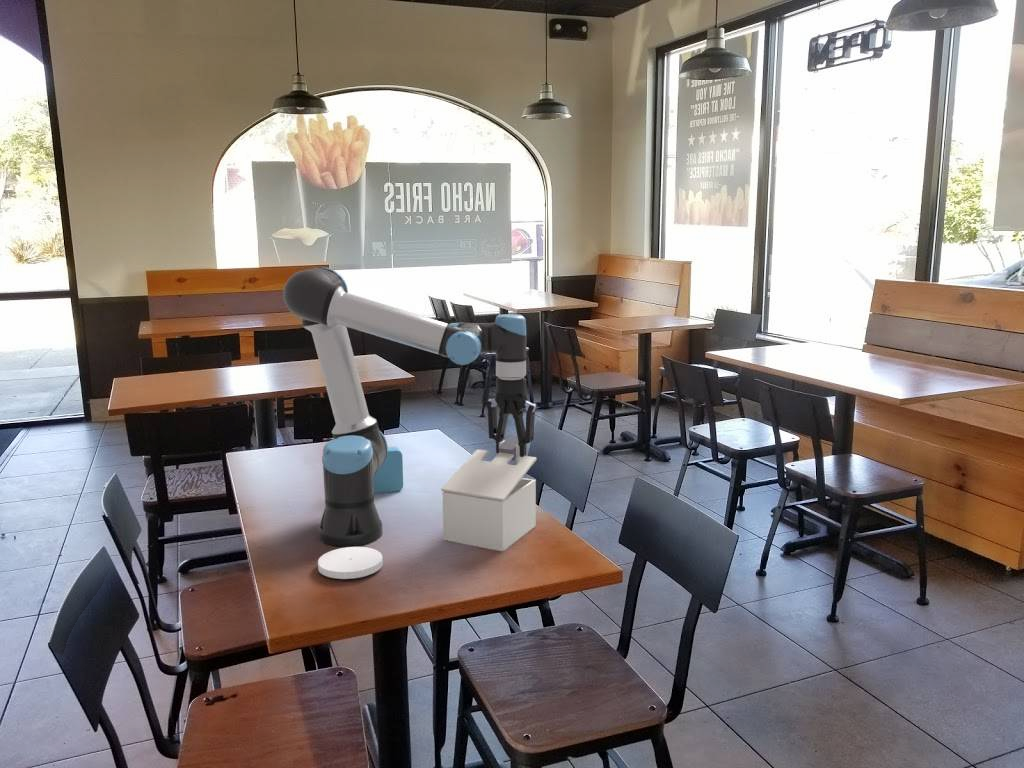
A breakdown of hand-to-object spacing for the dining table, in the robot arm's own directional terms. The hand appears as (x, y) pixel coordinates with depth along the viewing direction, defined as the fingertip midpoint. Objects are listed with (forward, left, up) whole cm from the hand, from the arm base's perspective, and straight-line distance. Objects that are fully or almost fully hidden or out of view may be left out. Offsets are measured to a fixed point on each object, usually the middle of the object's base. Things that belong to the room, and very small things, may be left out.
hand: (511, 467), depth 210 cm
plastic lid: (-43, +18, -14) cm, 49 cm away
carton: (-12, 0, -14) cm, 18 cm away
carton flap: (-8, 0, +1) cm, 8 cm away
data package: (+3, +43, -14) cm, 45 cm away
